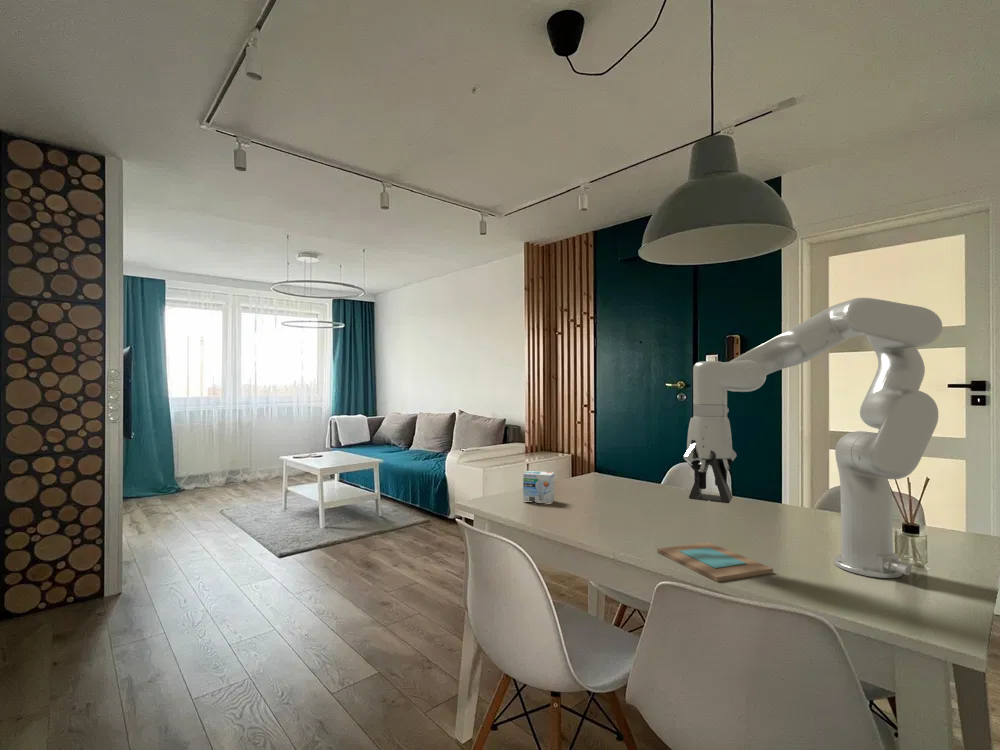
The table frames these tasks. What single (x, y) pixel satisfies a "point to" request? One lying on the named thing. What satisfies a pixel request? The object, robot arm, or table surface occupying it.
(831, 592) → the table surface
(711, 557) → the wooden board
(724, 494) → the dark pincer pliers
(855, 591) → the table surface
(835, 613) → the table surface
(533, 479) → the light bulb box
